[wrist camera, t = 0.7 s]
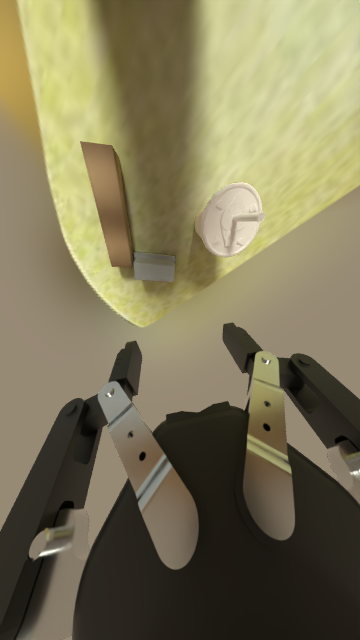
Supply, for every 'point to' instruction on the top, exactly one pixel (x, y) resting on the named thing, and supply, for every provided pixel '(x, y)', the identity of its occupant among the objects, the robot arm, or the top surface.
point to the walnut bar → (110, 201)
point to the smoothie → (230, 219)
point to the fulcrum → (154, 266)
